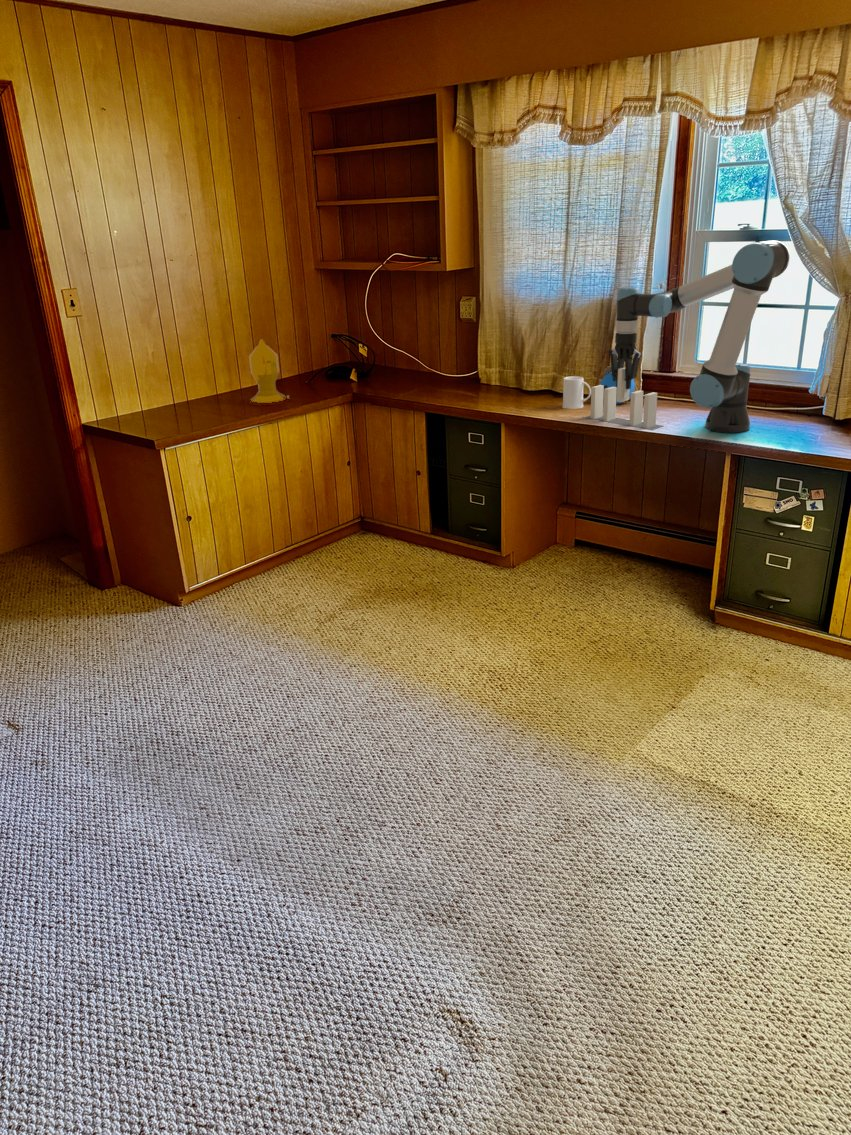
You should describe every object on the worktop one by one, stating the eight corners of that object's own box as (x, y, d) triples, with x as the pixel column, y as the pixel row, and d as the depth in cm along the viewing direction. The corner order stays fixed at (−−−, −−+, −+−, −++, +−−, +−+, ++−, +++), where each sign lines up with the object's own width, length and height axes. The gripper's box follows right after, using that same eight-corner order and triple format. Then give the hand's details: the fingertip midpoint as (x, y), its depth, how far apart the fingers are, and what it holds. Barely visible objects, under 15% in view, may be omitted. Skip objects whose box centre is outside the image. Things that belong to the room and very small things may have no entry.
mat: (664, 427, 307) (664, 425, 307) (652, 431, 303) (652, 430, 302) (594, 415, 330) (594, 414, 330) (581, 418, 325) (581, 417, 325)
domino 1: (602, 416, 325) (603, 385, 321) (594, 418, 322) (595, 387, 318) (598, 415, 327) (599, 384, 322) (590, 418, 324) (591, 387, 319)
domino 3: (629, 399, 314) (630, 367, 309) (620, 402, 311) (622, 369, 306) (625, 399, 315) (626, 366, 311) (616, 401, 312) (618, 369, 307)
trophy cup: (289, 395, 396) (283, 334, 385) (289, 406, 374) (281, 341, 363) (252, 398, 394) (244, 337, 383) (249, 408, 372) (240, 344, 361)
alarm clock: (634, 403, 346) (636, 366, 340) (628, 406, 341) (630, 369, 335) (604, 400, 353) (606, 364, 347) (598, 403, 348) (599, 367, 343)
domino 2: (615, 418, 321) (616, 387, 316) (606, 421, 318) (608, 389, 313) (611, 417, 322) (612, 386, 318) (603, 420, 319) (604, 388, 315)
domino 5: (655, 425, 309) (657, 392, 304) (647, 428, 305) (649, 395, 301) (651, 424, 310) (653, 392, 305) (642, 427, 307) (644, 394, 302)
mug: (594, 407, 343) (595, 377, 338) (584, 411, 337) (585, 381, 332) (568, 404, 350) (569, 375, 345) (558, 408, 343) (559, 379, 339)
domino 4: (641, 423, 313) (643, 390, 308) (633, 425, 310) (635, 393, 305) (637, 422, 314) (639, 390, 309) (629, 425, 311) (630, 392, 306)
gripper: (649, 332, 300) (645, 397, 310) (615, 329, 311) (612, 392, 320) (637, 335, 296) (633, 401, 305) (603, 331, 306) (600, 396, 315)
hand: (622, 396), depth 313 cm, fingers closed on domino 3, 2 cm apart
